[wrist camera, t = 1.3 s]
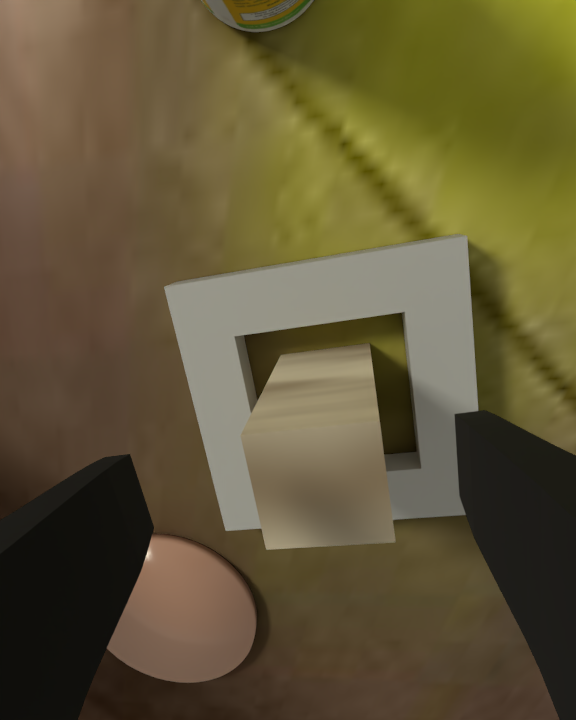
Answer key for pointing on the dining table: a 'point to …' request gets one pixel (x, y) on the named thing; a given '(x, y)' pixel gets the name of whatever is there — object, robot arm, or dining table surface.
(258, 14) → the supplement bottle
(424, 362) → the grey square frame
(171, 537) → the pink disc
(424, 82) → the dining table surface
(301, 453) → the maple block
